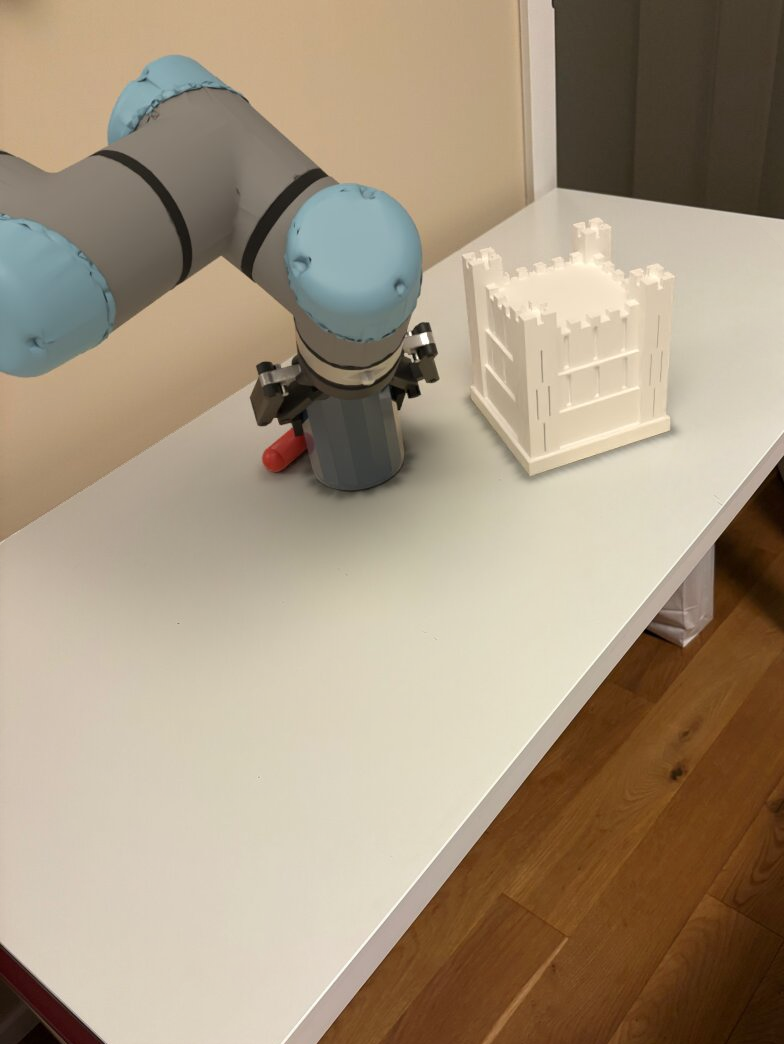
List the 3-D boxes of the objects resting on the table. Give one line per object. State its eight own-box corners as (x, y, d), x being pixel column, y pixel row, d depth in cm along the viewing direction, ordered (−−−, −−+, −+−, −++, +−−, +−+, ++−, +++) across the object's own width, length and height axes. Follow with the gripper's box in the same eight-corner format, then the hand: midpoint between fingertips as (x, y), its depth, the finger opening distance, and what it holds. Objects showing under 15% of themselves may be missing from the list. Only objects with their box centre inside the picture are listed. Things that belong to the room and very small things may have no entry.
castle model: (471, 398, 95) (456, 254, 84) (598, 359, 97) (600, 214, 87) (529, 476, 85) (521, 324, 74) (669, 430, 87) (681, 277, 77)
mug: (414, 475, 86) (399, 381, 79) (322, 500, 85) (298, 406, 78) (381, 401, 95) (364, 310, 88) (297, 423, 94) (274, 332, 87)
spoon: (289, 483, 88) (284, 462, 86) (250, 469, 90) (243, 448, 88) (397, 388, 97) (393, 368, 95) (358, 377, 99) (354, 357, 98)
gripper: (213, 425, 64) (242, 477, 87) (510, 350, 67) (464, 420, 90) (182, 318, 64) (219, 398, 87) (481, 248, 67) (442, 343, 89)
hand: (344, 409), depth 88 cm, fingers closed on mug, 9 cm apart
